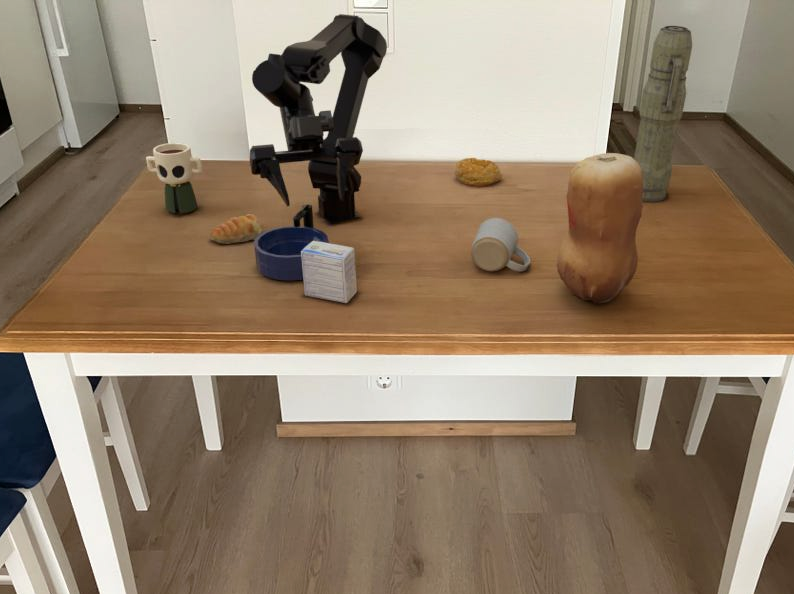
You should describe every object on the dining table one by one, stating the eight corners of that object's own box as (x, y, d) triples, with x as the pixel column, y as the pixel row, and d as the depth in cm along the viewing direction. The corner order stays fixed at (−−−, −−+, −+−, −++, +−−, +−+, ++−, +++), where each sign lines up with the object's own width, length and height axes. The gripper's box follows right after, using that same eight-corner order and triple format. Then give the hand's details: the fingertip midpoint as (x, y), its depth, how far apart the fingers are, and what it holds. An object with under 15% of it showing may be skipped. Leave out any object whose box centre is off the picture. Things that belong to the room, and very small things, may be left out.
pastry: (220, 249, 146) (217, 230, 143) (205, 237, 150) (202, 219, 148) (265, 237, 151) (263, 219, 148) (249, 225, 155) (247, 207, 153)
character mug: (150, 216, 157) (137, 153, 150) (160, 202, 163) (149, 141, 156) (204, 217, 158) (194, 155, 150) (212, 203, 163) (203, 143, 156)
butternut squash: (550, 277, 140) (566, 140, 126) (624, 280, 140) (648, 143, 126) (557, 316, 128) (575, 170, 114) (638, 319, 128) (666, 174, 114)
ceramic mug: (468, 271, 141) (470, 232, 136) (476, 252, 147) (479, 214, 143) (526, 279, 139) (530, 240, 135) (532, 259, 146) (536, 221, 141)
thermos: (655, 183, 180) (684, 22, 160) (675, 203, 170) (709, 34, 151) (618, 184, 179) (644, 22, 159) (636, 204, 169) (665, 34, 150)
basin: (312, 245, 148) (310, 220, 146) (341, 272, 139) (340, 247, 136) (247, 259, 143) (243, 234, 140) (272, 289, 133) (269, 263, 131)
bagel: (502, 188, 175) (503, 168, 172) (453, 187, 175) (454, 166, 172) (500, 172, 183) (501, 152, 181) (454, 171, 183) (454, 151, 181)
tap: (305, 242, 149) (301, 200, 144) (322, 244, 149) (319, 202, 144) (289, 259, 143) (285, 215, 138) (308, 261, 143) (304, 218, 138)
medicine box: (357, 292, 133) (355, 247, 128) (346, 305, 130) (343, 258, 125) (316, 284, 135) (312, 239, 130) (304, 296, 132) (300, 250, 127)
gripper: (243, 96, 123) (260, 188, 121) (358, 89, 129) (376, 176, 126) (243, 130, 134) (259, 215, 131) (349, 122, 139) (366, 203, 137)
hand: (315, 202), depth 131 cm, fingers open, 9 cm apart
